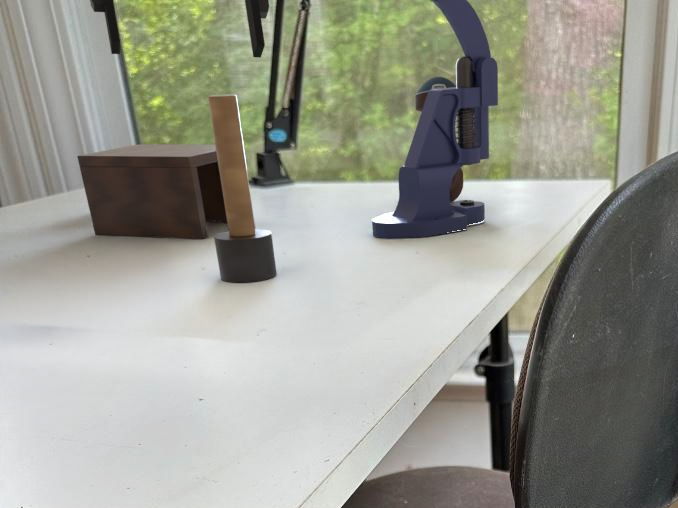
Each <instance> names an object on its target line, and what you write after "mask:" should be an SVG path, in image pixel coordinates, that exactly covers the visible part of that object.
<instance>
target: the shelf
mask: <svg viewBox="0 0 678 508" xmlns="http://www.w3.org/2000/svg"><path fill="white" fill-rule="evenodd" d="M76 157H77V161H78V165H79V170H80V175H81V178H82V179H81V180H82V183H83V187H84V192H85V196H86V201H87V205H88V209H89V213H90V218H91V222H92V226H93V231H94V234H95V236H97V235H98V236H116V237H117V236H119V237H120V236H121V237H141V238H142V237H143V238H145V237H146V238H165V237H174V238H173V239H189V238H190V239H192V240H193V239H195V240H205V239H207V238H209V234H208V227H207V222H217V223H219V222H223V223H227V217H226V211H225V204H224V198H223V191H222V185H221V179H220V172H219V166H218V159H217V153H216V147H215V144H170V143H169V144H165V143H164V144H157V143H155V144H154V143H153V144H150V143H149V144H147V143H145V144H142V143H141V144H140V143H139V144H133V145H132V144H131V145H129V146H122V147H117V148H116V147H115V148H111V149H107V150H100V151H95V152H90V153H84V154H79V155H77V156H76ZM206 237H207V238H206Z"/></svg>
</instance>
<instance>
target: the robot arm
mask: <svg viewBox="0 0 678 508" xmlns="http://www.w3.org/2000/svg"><path fill="white" fill-rule="evenodd" d="M89 3H90V7H91V9H92V11H93V12H94V13H104V19H105V23H106V29H107V36H108V41H109V46H110V52H111V55H121V38H120V33H119V27H118V21H117V15H116V10H115V3H114V0H89ZM244 4H245V10H246V18H247V23H248V32H249V37H250V43H251V50H252V57H253V58H262V55H263V52H264V49H265V47H266V42H265V35H264V29H263V21H262V20H263V19H265V20H266V19H267V16H268V13H269V11H270V10H269V9H270V2H269V0H244Z"/></svg>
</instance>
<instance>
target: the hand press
mask: <svg viewBox="0 0 678 508" xmlns="http://www.w3.org/2000/svg"><path fill="white" fill-rule="evenodd" d="M429 1H430V2H432V3H434V5H435V6H436V7H437V8H438V9H439V10H440V11H441V13H442V14H443V16H444V17H445V19H446V20H447V22H448V23H449V25H450V27H451V29H452V30H453V33H454V34H455V36H456V39H457V40H458V43H459V45H460V47H461V50H462V52H463V54H464V56H460V57H458V59H457V60H456V62H455V63H456V64H455V79H456V80H455V82H456V83H455V85H456V87H452V88H442V89H430V90H429V91H428V94H427V97H426V100H425V103H424V106H423V109H422V112H421V113H420V116H419V119H418V122H417V125H416V127H415V131H414V134H413V137H412V141H411V143H410V145H409V149H408V152H407V155H406V158H405V161H404V165H402V166H401V167H399V169H398V201H397V205H396V207H395V210H394V211H391V212H387V213H384V214H381V215H379V216H376V217H374V218H372V219H371V225H372V236H373V237H376V238H381V239H410V238H411V237H414V238H426V237H425V236H429V237H433V236H432V235H436V236H439V235H438V234H442V235H444V234H443V233H447V232H452V231H457V230H463V229H467V230H468V227H467V225H469V224H473V223H478V222H481V221H483V220H484V219H485V220H486V217H485V207H486V206H485V203H484V202H482V201H475V200H473V199H462V200H459V201H453V202H451V203H450V186H451V182H452V180H453V177H454V175H455V173H456V171H457V170H458V169H460V168H461V169H462V167H464V166H472V165H477V164H480V163H481V160H488V159H490V134H489V133H490V120H489V119H490V115H489V114H490V112H489V110H490V109H489V108H490V107H495V106H499V93H498V92H499V75H498V74H499V69H498V68H499V67H498V62H497V61H496V59H495V58H494V57H492V55H491V49H490V45H489V41H488V38H487V34H486V32H485V29H484V27H483V25H482V22H481V20H480V18H479V15H478V14H477V11H476V10H475V9H474V7H473V6H472V4H471V3H470V1H468V0H429ZM456 124H457V125H456ZM456 129H457V131H456Z"/></svg>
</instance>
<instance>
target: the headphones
mask: <svg viewBox="0 0 678 508" xmlns="http://www.w3.org/2000/svg"><path fill="white" fill-rule="evenodd" d="M452 87H456V83H454V82H453V81H452V80H450V79H449V78H447V77H444V76H435V77H432V78H429V79H428V80H426V81H424V82H423V84H422V85H421V86H420V87H419V88H418V90H417V92H416V94H415V97H414V105H415V106H414V107H415V110H416V111H417V112H422V109H423V106H424V103H425V100H426V97H427V94H428V91H429V90H430V89H442V88H452ZM463 189H464V170H463V169H462V167H461V168H460V169H458V170H457V171H456V173H455V175H454V177H453V180H452V182H451V186H450V203H451V202H455V201H456V200H457V199H458V198H459V197H460V195H462V194H461V193H462V191H463Z"/></svg>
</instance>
